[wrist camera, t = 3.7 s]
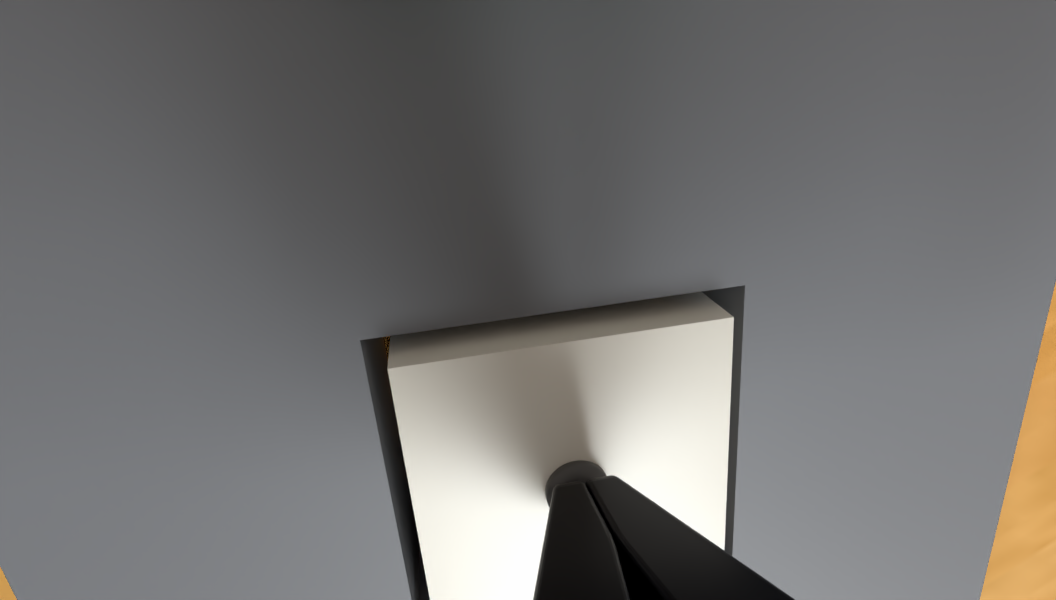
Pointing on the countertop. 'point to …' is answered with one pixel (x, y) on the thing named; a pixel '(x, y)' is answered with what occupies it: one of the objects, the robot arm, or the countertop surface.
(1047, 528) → the countertop surface
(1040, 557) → the countertop surface
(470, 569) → the one-dot button
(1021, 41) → the button board
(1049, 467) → the countertop surface
